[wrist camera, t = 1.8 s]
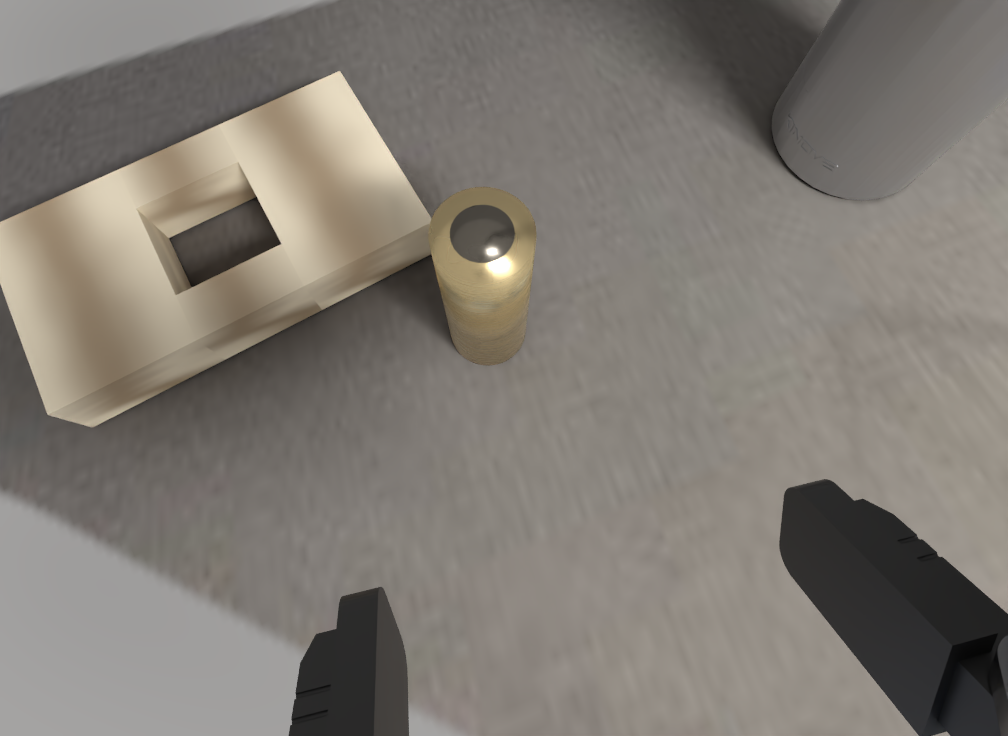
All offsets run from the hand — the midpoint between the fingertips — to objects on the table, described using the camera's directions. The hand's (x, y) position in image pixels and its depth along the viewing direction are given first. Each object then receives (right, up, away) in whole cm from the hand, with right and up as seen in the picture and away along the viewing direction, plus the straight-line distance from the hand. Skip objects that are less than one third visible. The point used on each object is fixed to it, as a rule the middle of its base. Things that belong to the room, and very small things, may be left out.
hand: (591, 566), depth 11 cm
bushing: (-3, +6, +20) cm, 21 cm away
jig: (-17, +10, +21) cm, 29 cm away
